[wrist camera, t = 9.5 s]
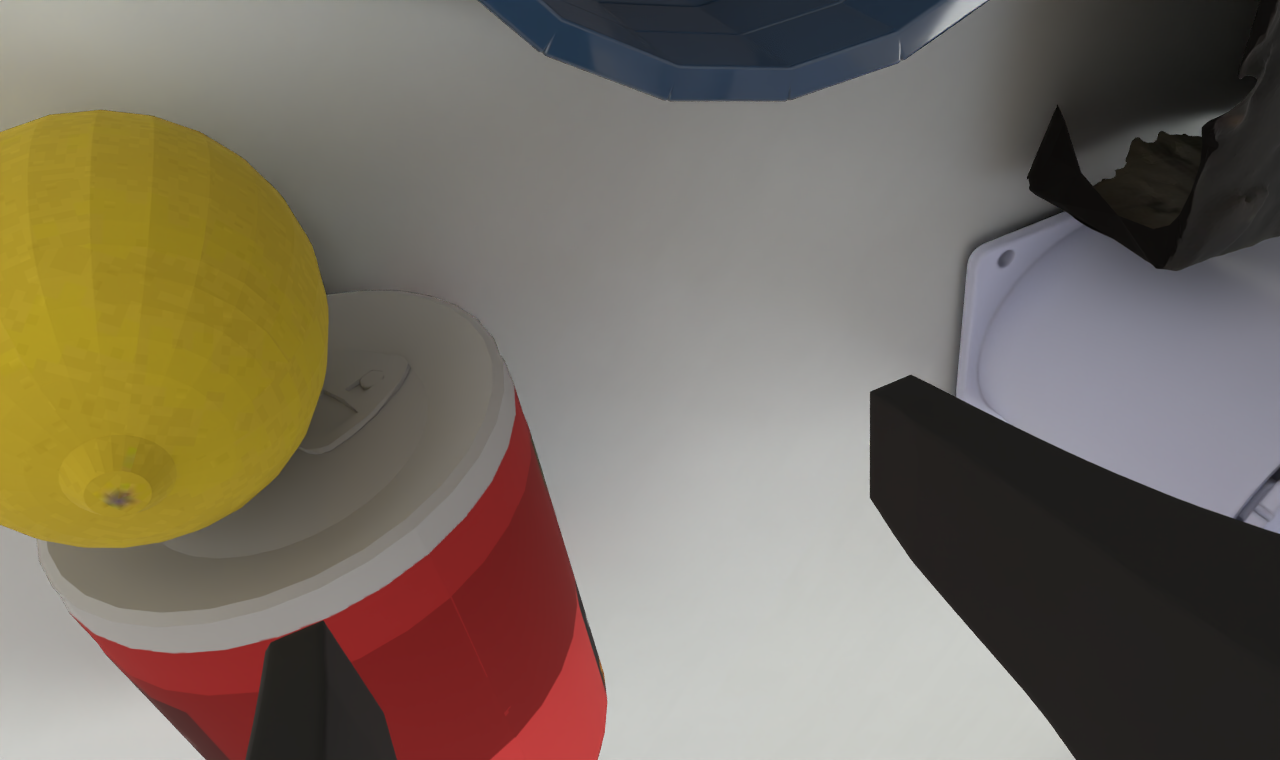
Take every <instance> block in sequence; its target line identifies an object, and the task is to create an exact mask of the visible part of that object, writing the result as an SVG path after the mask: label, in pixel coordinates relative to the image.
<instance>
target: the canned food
mask: <svg viewBox="0 0 1280 760" xmlns="http://www.w3.org/2000/svg"><path fill="white" fill-rule="evenodd" d="M326 296H327V303H328V315H329V324H328V355H327V368H326V375H325V379H324V384H323V387H322V390H321V393H320V396H319V399H318V402H317V405H316V408H315V411H314V413H313V416H312V419H311V422H310V425H309V428H308V431H307V434H306V435H305V437H304V439H303V440H302V442H301V444H300V445H299V447H298V448H297V450H296V451H295V453H294V454H293V455H292V457H291V458H290V460H289V461H288V462H287V464H286V465H285V467H284V468H283V469H282V471H281V472H280V474H279V475H278V476H277V477H276V478H275V479H274V480H273V481H272V482H271V483H270V484H269V485H267V486H266V487H265V488H264V489H263V490H262V491H260V492H259V493H258V494H257V495H256V496H255V497H253V498H252V499H251V500H250V501H249V502H248V503H246V504H245V505H244V506H243V507H242V508H240V509H239V510H237V511H235V512H233V513H231V514H230V515H228V516H226V517H224V518H222V519H221V520H219V521H217V522H215V523H213V524H211V525H210V526H208V527H206V528H203V529H201V530H198V531H195V532H192V533H189V534H186V535H183V536H180V537H177V538H174V539H171V540H167V541H164V542H160V543H153V544H147V545H140V546H133V547H127V548H82V547H76V546H71V545H65V544H60V543H54V542H49V541H43V540H40V539H37V547H38V557H39V562H40V564H41V566H42V568H43V570H44V572H45V573H46V575H47V577H48V579H49V581H50V583H51V585H52V587H53V588H54V589H55V590H56V591H57V593H58V594H59V595H60V596H61V598H62V600H63V602H64V604H65V606H66V608H67V609H68V611H69V613H70V614H71V615H72V616H73V617H74V618H75V619H76V620H77V622H78V623H79V624H80V625H81V626H82V627H83V628H84V629H85V630H86V631H87V632H88V633H89V634H90V635H91V637H92V638H93V639H94V640H95V641H96V642H97V643H98V645H99V646H100V647H101V649H102V650H103V651H104V653H105V654H106V655H107V656H108V657H109V658H110V659H111V660H112V661H113V662H114V663H115V665H116V666H117V667H118V668H119V669H120V670H121V671H122V672H123V673H124V674H125V675H126V676H127V677H128V678H129V679H130V680H131V681H132V682H133V683H134V685H135V686H136V687H137V688H138V689H139V690H140V691H141V692H142V693H143V694H144V695H145V696H146V697H147V698H148V699H149V700H150V701H151V702H152V703H153V705H154V706H155V707H156V708H157V709H158V710H159V711H160V712H161V713H162V714H163V715H164V716H165V717H166V718H167V719H168V720H169V721H170V722H171V723H172V725H173V726H174V727H175V728H176V729H177V730H178V731H179V732H180V733H181V734H182V735H183V736H184V737H185V738H186V739H187V740H188V741H189V742H190V743H191V745H192V746H193V747H194V748H195V749H196V750H197V751H198V752H199V753H200V754H201V755H202V756H203V757H204V758H205V759H206V760H245V759H246V754H247V749H248V745H249V740H250V735H251V730H252V725H253V720H254V715H255V710H256V704H257V699H258V693H259V687H260V682H261V676H262V669H263V663H264V656H265V651H266V650H267V648H268V646H269V644H270V643H271V642H272V641H275V640H277V639H280V638H282V637H284V636H287V635H289V634H292V633H294V632H296V631H299V630H301V629H304V628H306V627H308V626H311V625H313V624H316V623H318V622H320V621H324V622H325V624H326V625H327V627H328V628H329V630H330V631H331V633H332V634H333V636H334V637H335V639H336V640H337V642H338V644H339V645H340V647H341V648H342V650H343V651H344V653H345V654H346V656H347V657H348V659H349V660H350V662H351V663H352V665H353V666H354V668H355V670H356V671H357V673H358V674H359V676H360V677H361V679H362V680H363V682H364V683H365V685H366V686H367V688H368V689H369V691H370V692H371V694H372V695H373V697H374V699H375V700H376V702H377V703H378V705H379V706H380V708H381V709H382V711H383V712H384V715H385V719H386V722H387V726H388V729H389V733H390V737H391V740H392V744H393V747H394V751H395V754H396V758H397V760H598V757H599V753H600V750H601V746H602V741H603V737H604V733H605V722H606V711H607V695H606V687H605V679H604V673H603V669H602V666H601V663H600V659H599V656H598V653H597V650H596V646H595V643H594V640H593V636H592V633H591V630H590V627H589V623H588V620H587V617H586V614H585V610H584V607H583V604H582V600H581V597H580V594H579V591H578V587H577V584H576V581H575V577H574V574H573V571H572V568H571V564H570V561H569V558H568V554H567V551H566V548H565V545H564V541H563V538H562V535H561V532H560V528H559V525H558V522H557V518H556V515H555V512H554V509H553V505H552V502H551V499H550V495H549V492H548V489H547V486H546V482H545V479H544V476H543V473H542V469H541V466H540V463H539V459H538V456H537V453H536V450H535V446H534V443H533V440H532V436H531V433H530V430H529V427H528V424H527V422H526V419H525V417H524V414H523V412H522V408H521V405H520V402H519V399H518V396H517V393H516V389H515V386H514V383H513V381H512V378H511V376H510V373H509V371H508V368H507V365H506V363H505V361H504V359H503V358H502V356H501V355H500V353H499V350H498V348H497V345H496V343H495V340H494V338H493V337H492V336H491V335H490V333H489V332H488V331H487V330H486V329H485V327H484V326H483V325H482V324H481V323H480V321H479V320H478V319H476V318H475V317H473V316H472V315H470V314H469V313H467V312H466V311H464V310H463V309H461V308H460V307H458V306H456V305H454V304H451V303H449V302H446V301H443V300H440V299H437V298H435V297H432V296H429V295H423V294H417V293H411V292H404V291H398V290H361V291H353V292H344V293H336V294H327V295H326Z"/></svg>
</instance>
